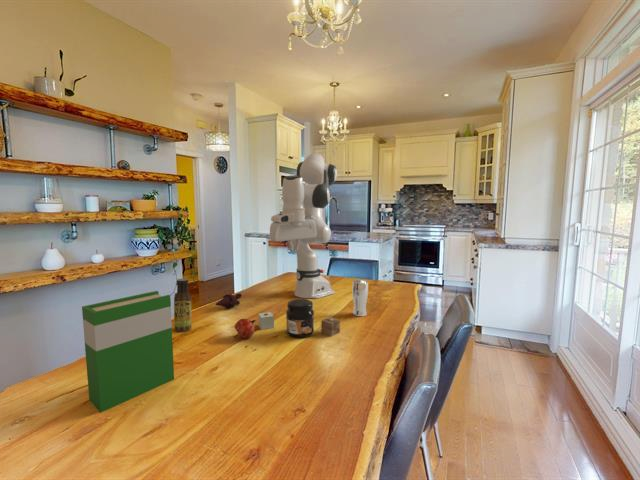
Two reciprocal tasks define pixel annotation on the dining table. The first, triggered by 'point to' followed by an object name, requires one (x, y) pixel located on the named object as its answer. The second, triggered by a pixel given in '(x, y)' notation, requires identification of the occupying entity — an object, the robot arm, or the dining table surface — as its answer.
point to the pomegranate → (245, 328)
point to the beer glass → (360, 297)
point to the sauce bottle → (182, 306)
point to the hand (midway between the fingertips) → (294, 250)
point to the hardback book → (127, 347)
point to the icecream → (229, 301)
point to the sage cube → (266, 320)
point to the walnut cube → (330, 326)
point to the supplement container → (300, 318)
